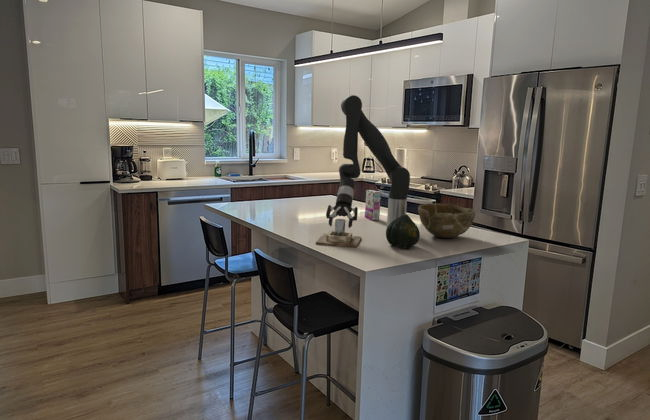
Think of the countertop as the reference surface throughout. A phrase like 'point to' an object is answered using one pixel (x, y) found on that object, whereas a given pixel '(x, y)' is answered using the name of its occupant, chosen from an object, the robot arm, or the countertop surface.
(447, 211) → the bowl
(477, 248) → the countertop surface
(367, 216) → the candy bar box
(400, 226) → the squash
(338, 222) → the steel cylinder
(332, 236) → the socket board
